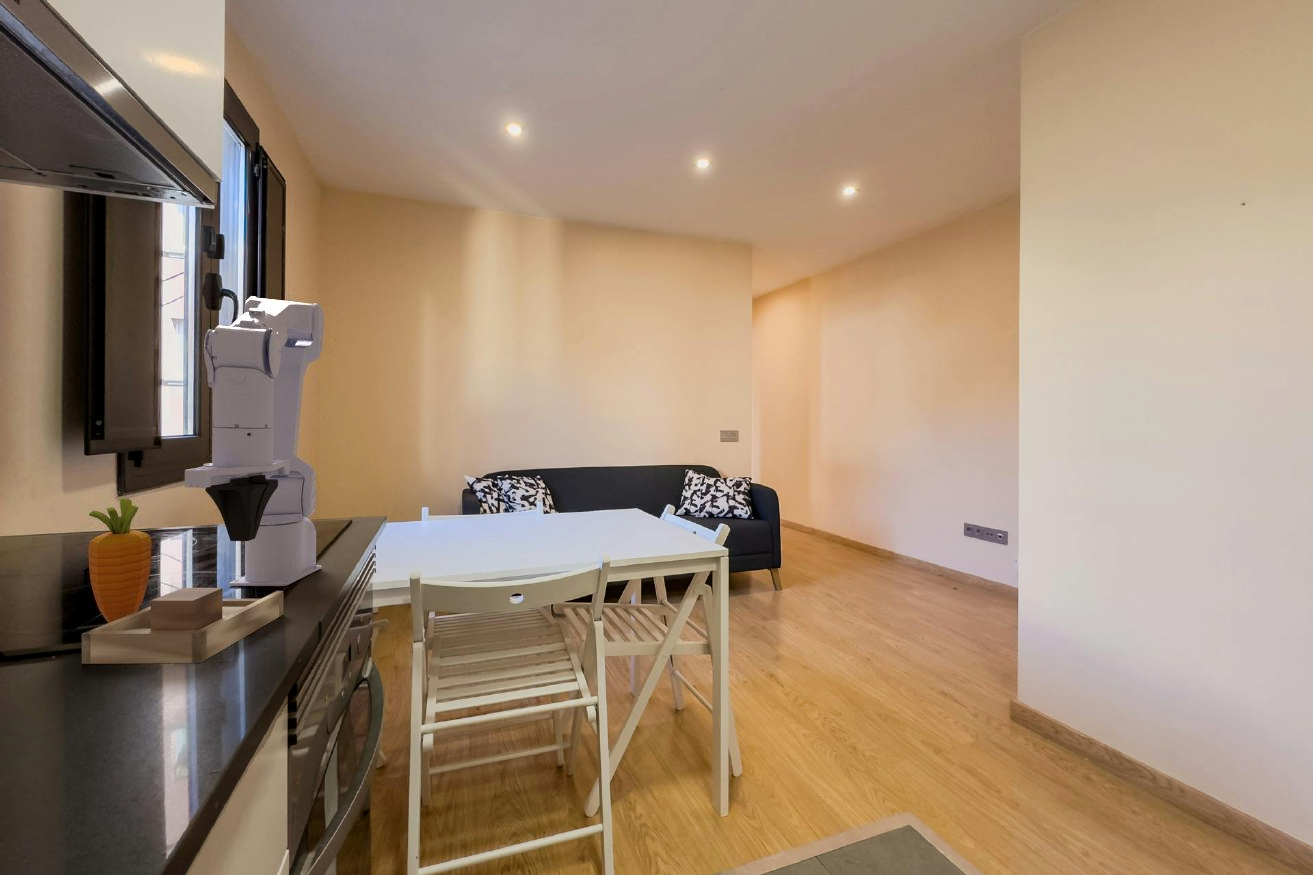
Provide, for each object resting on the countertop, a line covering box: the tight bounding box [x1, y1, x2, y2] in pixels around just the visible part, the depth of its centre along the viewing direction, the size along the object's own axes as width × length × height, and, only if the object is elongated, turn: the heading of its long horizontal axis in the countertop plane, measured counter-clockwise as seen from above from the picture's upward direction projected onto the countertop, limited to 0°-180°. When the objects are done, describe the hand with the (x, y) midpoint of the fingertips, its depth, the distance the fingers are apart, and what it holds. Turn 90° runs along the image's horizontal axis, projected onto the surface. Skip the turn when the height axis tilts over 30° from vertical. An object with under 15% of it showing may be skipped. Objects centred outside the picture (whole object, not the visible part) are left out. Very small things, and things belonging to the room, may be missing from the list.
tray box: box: [81, 590, 284, 665], centre depth 58 cm, size 13×11×3 cm
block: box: [150, 587, 224, 630], centre depth 54 cm, size 4×4×4 cm
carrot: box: [87, 498, 153, 624], centre depth 58 cm, size 5×5×15 cm
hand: (242, 539), depth 62 cm, fingers closed
